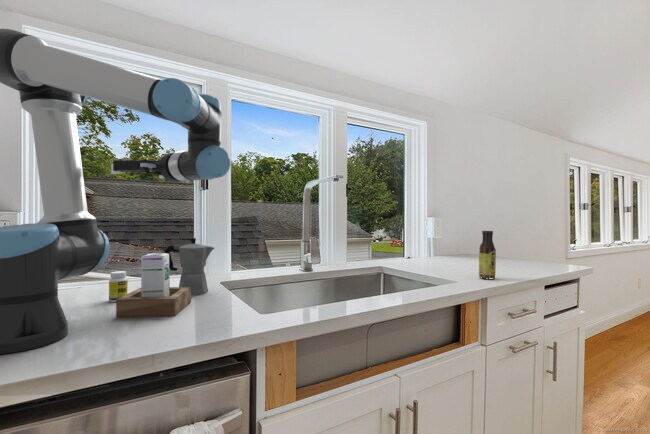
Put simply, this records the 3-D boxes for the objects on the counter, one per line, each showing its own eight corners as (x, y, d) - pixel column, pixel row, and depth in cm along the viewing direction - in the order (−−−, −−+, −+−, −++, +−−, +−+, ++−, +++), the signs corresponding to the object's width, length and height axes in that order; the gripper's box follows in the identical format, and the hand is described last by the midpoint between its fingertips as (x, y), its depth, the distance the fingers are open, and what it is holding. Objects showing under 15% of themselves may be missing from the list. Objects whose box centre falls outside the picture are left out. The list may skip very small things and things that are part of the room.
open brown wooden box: (174, 316, 87) (174, 298, 87) (116, 317, 86) (116, 299, 86) (190, 302, 101) (190, 287, 101) (140, 303, 100) (140, 287, 100)
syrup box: (164, 310, 91) (165, 255, 91) (140, 311, 90) (140, 255, 90) (170, 304, 97) (170, 252, 97) (147, 305, 96) (147, 252, 96)
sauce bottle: (494, 280, 139) (495, 231, 139) (477, 279, 143) (478, 230, 142) (496, 278, 145) (496, 230, 145) (479, 276, 148) (480, 230, 148)
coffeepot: (214, 288, 121) (214, 236, 121) (214, 294, 112) (214, 238, 112) (165, 291, 116) (166, 237, 116) (161, 297, 107) (162, 239, 107)
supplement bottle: (118, 302, 100) (118, 273, 100) (104, 301, 101) (105, 273, 101) (131, 298, 105) (131, 271, 105) (117, 298, 106) (117, 270, 106)
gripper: (130, 176, 78) (89, 180, 90) (220, 184, 99) (177, 187, 111) (130, 143, 78) (89, 152, 90) (220, 158, 99) (177, 164, 111)
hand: (137, 171), depth 101 cm, fingers open, 13 cm apart
